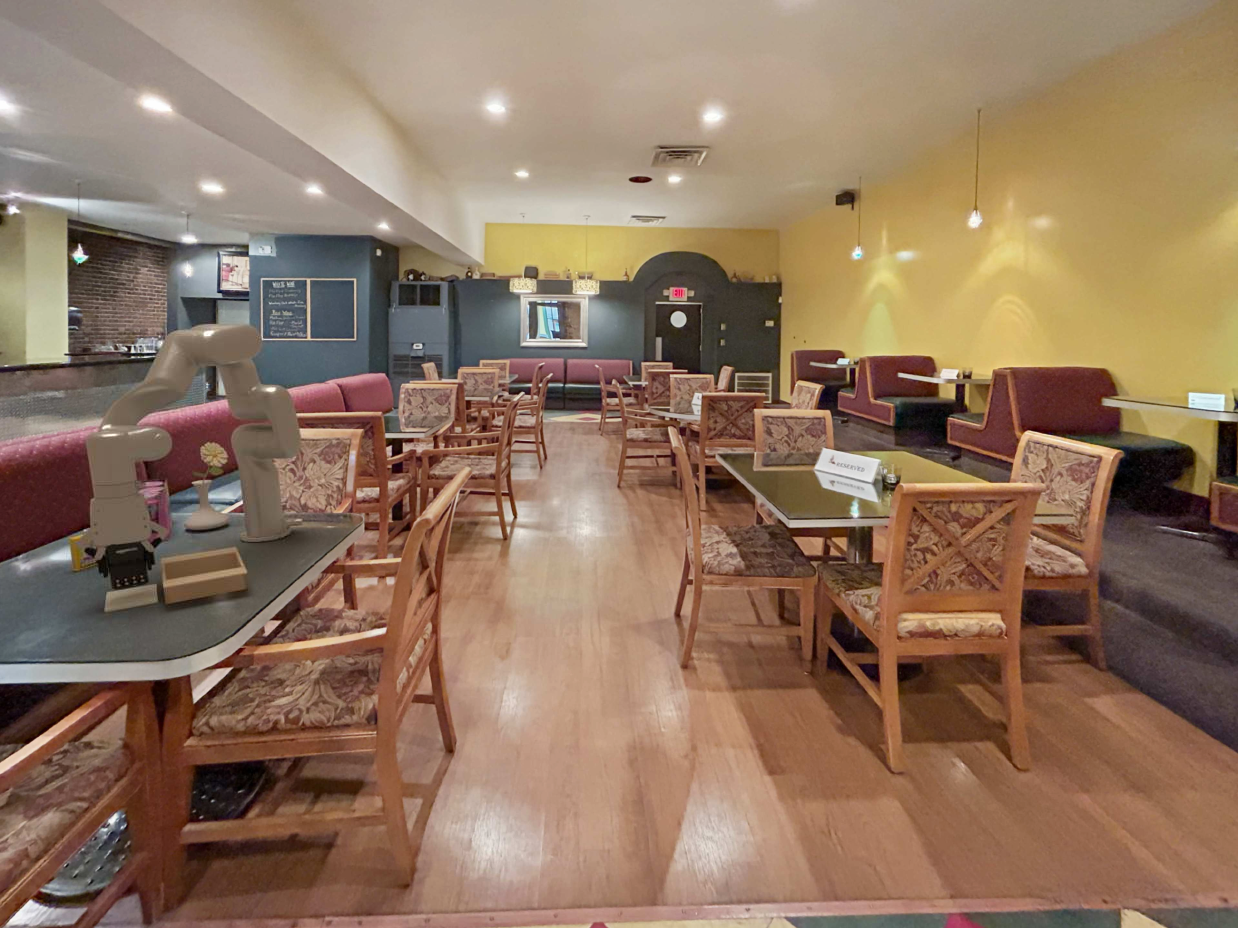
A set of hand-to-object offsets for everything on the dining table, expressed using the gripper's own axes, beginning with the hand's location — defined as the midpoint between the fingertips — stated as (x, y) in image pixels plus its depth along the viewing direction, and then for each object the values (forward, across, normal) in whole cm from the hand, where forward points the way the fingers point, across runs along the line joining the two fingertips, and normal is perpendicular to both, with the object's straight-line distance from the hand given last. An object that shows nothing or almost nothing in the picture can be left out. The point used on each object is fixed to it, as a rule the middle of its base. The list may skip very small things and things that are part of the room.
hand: (128, 571), depth 146 cm
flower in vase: (+6, -18, -55) cm, 58 cm away
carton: (+6, -14, +1) cm, 15 cm away
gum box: (+6, -5, -58) cm, 59 cm away
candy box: (+6, +6, -35) cm, 36 cm away
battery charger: (+4, 0, 0) cm, 4 cm away
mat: (+6, 0, 0) cm, 6 cm away
